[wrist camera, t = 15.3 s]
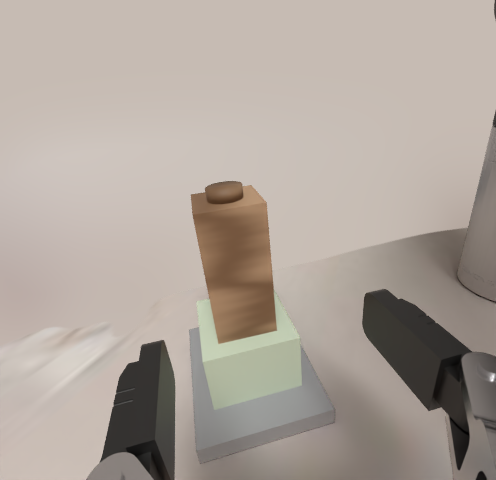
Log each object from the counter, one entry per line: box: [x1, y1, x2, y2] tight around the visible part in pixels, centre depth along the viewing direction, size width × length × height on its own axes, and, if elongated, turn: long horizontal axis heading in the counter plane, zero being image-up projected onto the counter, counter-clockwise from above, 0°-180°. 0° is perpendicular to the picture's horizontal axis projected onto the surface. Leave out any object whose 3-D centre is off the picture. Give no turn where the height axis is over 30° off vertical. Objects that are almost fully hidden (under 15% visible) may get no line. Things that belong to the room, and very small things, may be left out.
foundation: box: [189, 290, 335, 464], centre depth 25 cm, size 10×12×6 cm
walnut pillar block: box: [191, 181, 277, 344], centre depth 21 cm, size 4×4×11 cm
